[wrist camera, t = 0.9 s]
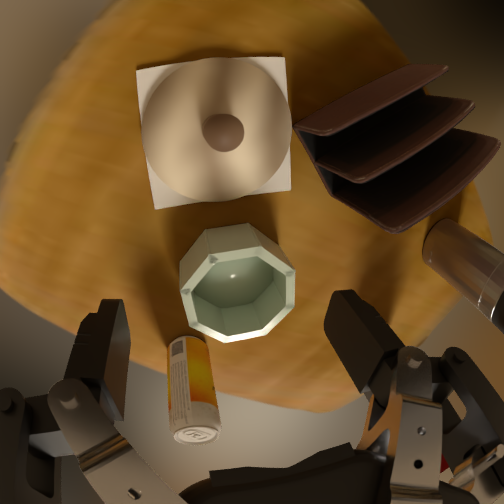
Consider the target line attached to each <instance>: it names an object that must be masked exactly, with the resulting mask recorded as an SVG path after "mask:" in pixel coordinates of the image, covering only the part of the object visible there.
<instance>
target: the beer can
mask: <svg viewBox="0 0 504 504" xmlns="http://www.w3.org/2000/svg"><path fill="white" fill-rule="evenodd" d="M167 377H168V404H169V406H168V407H169V425H170V431H171V433H172V434H173V436H174V439H175V440H176V441H178V442H180V443H183V444H187V445H203V444H208V443H211V442H213V441H215V440H216V439H218V438H219V435H220V434H219V433H220V430H221V421H220V416H219V410H218V405H217V399H216V394H215V388H214V382H213V376H212V369H211V363H210V357H209V350H208V347H207V345H206V344H205V343H204V342H203V341H202V340H200V339H199V338H197V337H194V336H181V337H179V338H177V339H175V340H174V341H173V342H171V343H170V344H169V346H168V349H167Z"/></svg>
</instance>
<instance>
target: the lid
mask: <svg viewBox="0 0 504 504" xmlns="http://www.w3.org/2000/svg"><path fill="white" fill-rule="evenodd" d="M141 133H142V143H143V148H144V152H145V155H146V158H147V160H148V162H149V164H150V166H151V168H152V169H153V171H154V172H155V173H156V175H157V176H158V177H159V178H160V179H161V180H162V181H163V182H164V183H165V184H166V185H167V186H169V187H170V188H171V189H173V190H174V191H176V192H178V193H179V194H181V195H184V196H186V197H188V198H192V199H195V200H200V201H206V202H221V201H228V200H233V199H237V198H240V197H243V196H245V195H247V194H249V193H252V192H253V191H255V190H257V189H258V188H260V187H261V186H262V185H264V184H265V183H266V182H267V181H268V180H269V179H270V178H271V177H272V176H273V175H274V174H275V173H276V171H277V170H278V169H279V167H280V166H281V164H282V162H283V161H284V159H285V156H286V154H287V152H288V149H289V145H290V141H291V135H292V120H291V114H290V109H289V106H288V103H287V101H286V98H285V96H284V95H283V93H282V91H281V89H280V88H279V87H278V85H277V84H276V83H275V82H274V81H273V80H272V79H271V78H270V77H269V76H268V75H267V74H266V73H265V72H263V71H262V70H261V69H259V68H257V67H255V66H253V65H252V64H249V63H247V62H244V61H241V60H237V59H233V58H224V57H214V58H206V59H201V60H197V61H194V62H191V63H189V64H186V65H184V66H182V67H180V68H179V69H177V70H175V71H174V72H173V73H171V74H170V75H169V76H168V77H166V78H165V79H164V80H163V81H162V82H161V83H160V84H159V86H158V87H157V88H156V90H155V91H154V92H153V94H152V96H151V98H150V99H149V101H148V103H147V106H146V109H145V112H144V116H143V120H142V131H141Z"/></svg>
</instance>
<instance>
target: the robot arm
mask: <svg viewBox="0 0 504 504" xmlns="http://www.w3.org/2000/svg"><path fill="white" fill-rule="evenodd" d="M423 259H424V262H425V263H426V264H427V265H428V266H429V267H431V268H432V269H433V270H434V271H435V272H437V273H438V274H439V275H440V276H441V277H442V278H444V279H445V280H446V281H447V282H448V283H449V284H451V285H452V286H453V287H454V288H455V289H456V290H458V291H459V292H460V293H461V294H462V295H463V296H464V297H466V298H467V299H468V300H469V301H470V302H471V303H472V304H473V305H474V306H475V307H476V308H477V309H478V310H480V311H481V312H482V313H483V314H484V315H485V316H486V317H487V318H488V319H489V320H490V321H491V322H492V323H493V324H494V325H495V326H496V327H498V329H499V330H500V331H501V332H502V333H503V334H504V254H503V253H502V252H501V251H499V250H498V249H496V248H495V247H493V246H492V245H491V244H489V243H488V242H486V241H485V240H483V239H481V238H480V237H478V236H477V235H475V234H474V233H472V232H471V231H469V230H467V229H466V228H464V227H463V226H461V225H459V224H458V223H456V222H454V221H453V220H451V219H448V218H447V219H443V220H441V221H439V222H438V223H437V224H436V225H435V226H434V227H433V228H432V229H431V231H430V232H429V234H428V236H427V238H426V240H425V243H424V247H423ZM324 331H325V334H326V336H327V338H328V339H329V341H330V343H331V344H332V346H333V348H334V349H335V351H336V353H337V355H338V356H339V358H340V360H341V361H342V363H343V365H344V367H345V368H346V370H347V372H348V373H349V375H350V377H351V379H352V380H353V382H354V384H355V386H356V387H357V389H358V391H359V393H360V394H361V393H364V392H367V391H372V393H373V395H372V396H371V398H370V402H369V408H368V412H367V417H366V422H365V426H364V431H363V435H362V437H361V440H360V442H359V443H358V445H357V447H356V449H353V448H352V446H351V444H350V442H348V443H346V444H342V445H339V446H336V447H333V448H330V449H326V450H323V451H319V452H317V453H316V454H314V455H312V456H310V457H308V458H306V459H304V460H303V461H301V462H299V463H297V464H295V465H293V466H291V467H288V468H262V467H261V468H260V467H241V468H233V469H224V470H215V471H209V473H210V478H208V479H205V480H202V481H199V482H197V483H195V484H193V485H191V486H189V487H188V488H186V489H185V490H183V491H182V492H181V493H179V494H177V493H176V492H174V490H172V489H171V488H170V487H169V486H168V485H167V484H166V483H165V482H164V481H163V480H162V479H161V478H160V477H159V476H158V475H157V473H156V472H155V471H154V470H153V469H152V468H151V467H150V466H149V465H148V464H147V463H146V462H145V460H144V459H143V458H142V457H141V456H140V455H139V454H138V453H137V451H136V450H135V449H134V448H133V447H132V446H131V444H130V443H129V442H128V441H127V440H126V439H125V438H124V437H122V435H121V434H120V433H119V431H118V430H117V429H116V428H115V426H114V420H116V421H124V407H125V394H126V382H127V372H128V363H129V355H130V346H131V340H130V331H129V326H128V322H127V317H126V312H125V307H124V303H123V300H122V299H102V300H101V303H100V306H99V309H98V312H97V313H89V314H88V315H87V316H86V317H85V318H84V319H83V321H82V322H81V324H80V327H79V329H78V332H77V335H76V339H75V344H74V345H73V348H72V351H71V354H70V358H69V361H68V365H67V369H66V372H65V375H64V378H63V380H60V381H58V382H56V383H55V384H54V385H53V386H52V387H51V389H50V390H49V393H48V394H46V395H41V396H34V397H28V398H24V397H23V395H22V394H21V393H20V392H19V391H18V390H16V389H14V388H3V389H1V390H0V504H62V502H61V461H62V456H65V455H72V454H75V455H76V457H77V459H78V460H79V467H80V469H81V470H82V472H83V474H84V475H85V477H86V478H87V480H88V481H89V483H90V484H91V485H92V487H93V488H94V490H95V491H96V492H97V493H98V495H99V496H100V498H101V499H102V500H103V501H104V503H105V504H493V503H494V502H495V501H496V500H497V499H498V498H499V497H500V496H501V495H502V494H503V493H504V402H503V401H502V399H501V398H500V396H499V395H498V393H497V392H496V391H495V389H494V388H493V387H492V385H491V384H490V382H489V381H488V380H487V378H486V377H485V376H484V375H483V373H482V372H481V371H480V369H479V368H478V367H477V365H476V364H475V363H474V362H473V360H472V359H471V358H470V357H469V355H468V354H467V353H466V352H465V351H463V350H462V349H460V348H457V347H449V348H447V349H446V351H445V352H444V354H443V355H442V357H428V355H427V354H426V353H425V352H424V351H423V350H421V349H419V348H417V347H414V346H405V345H404V344H403V342H402V341H401V340H400V339H399V337H398V336H397V335H396V334H395V333H394V331H393V330H392V329H391V328H390V326H389V325H388V324H386V322H385V320H384V319H383V318H382V317H380V314H379V313H378V312H377V311H376V309H375V308H374V307H373V306H371V305H370V304H368V303H367V302H365V301H364V300H362V299H361V298H360V297H359V296H358V295H357V294H356V292H355V291H354V290H352V289H350V290H339V291H334V292H333V294H332V296H331V300H330V303H329V306H328V310H327V313H326V316H325V319H324ZM453 390H455V392H456V393H457V395H458V396H459V398H460V399H461V401H462V402H463V404H464V405H465V407H466V411H467V413H466V416H465V418H464V419H463V420H461V419H460V417H459V416H458V414H457V413H456V411H455V410H454V408H453V407H452V405H451V403H450V402H449V400H448V399H447V398H448V396H449V395H450V394H451V393H452V392H453ZM441 453H442V454H443V456H444V458H445V460H446V462H447V463H448V465H449V467H450V469H451V471H452V473H453V478H452V479H451V480H450V481H449V484H448V483H445V482H443V481H440V480H439V477H440V467H441Z"/></svg>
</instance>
